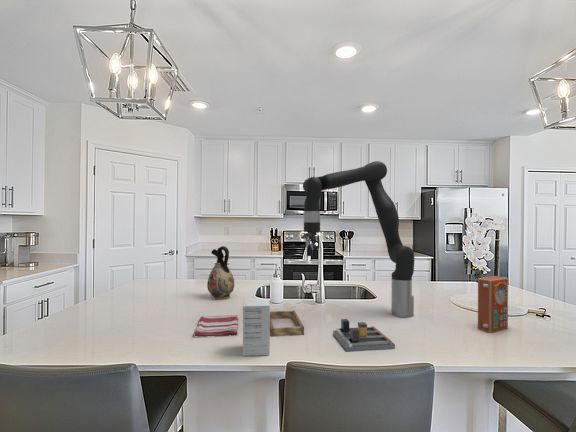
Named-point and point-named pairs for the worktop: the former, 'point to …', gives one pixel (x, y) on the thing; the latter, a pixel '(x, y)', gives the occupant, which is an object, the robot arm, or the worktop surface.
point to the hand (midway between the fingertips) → (311, 257)
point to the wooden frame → (286, 330)
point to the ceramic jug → (220, 276)
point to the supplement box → (256, 327)
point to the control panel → (492, 303)
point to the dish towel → (217, 326)
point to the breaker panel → (361, 338)
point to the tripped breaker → (362, 328)
